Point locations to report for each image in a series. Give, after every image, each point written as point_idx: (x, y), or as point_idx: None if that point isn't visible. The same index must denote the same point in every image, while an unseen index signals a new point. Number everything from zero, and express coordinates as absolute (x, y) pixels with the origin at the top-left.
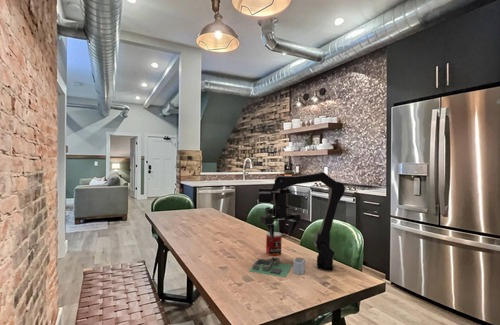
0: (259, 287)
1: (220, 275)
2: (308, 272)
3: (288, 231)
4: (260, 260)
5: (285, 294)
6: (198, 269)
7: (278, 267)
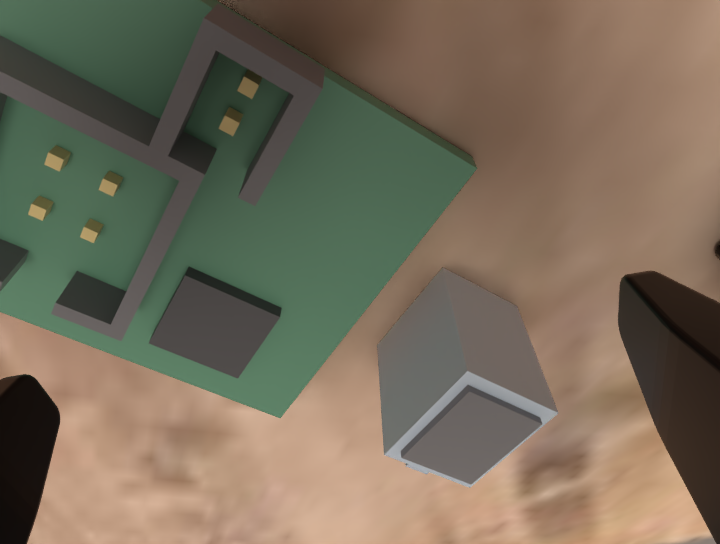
0: (61, 464)
1: None
2: (556, 306)
3: (699, 360)
4: (9, 85)
5: (226, 534)
6: None
7: (267, 224)
